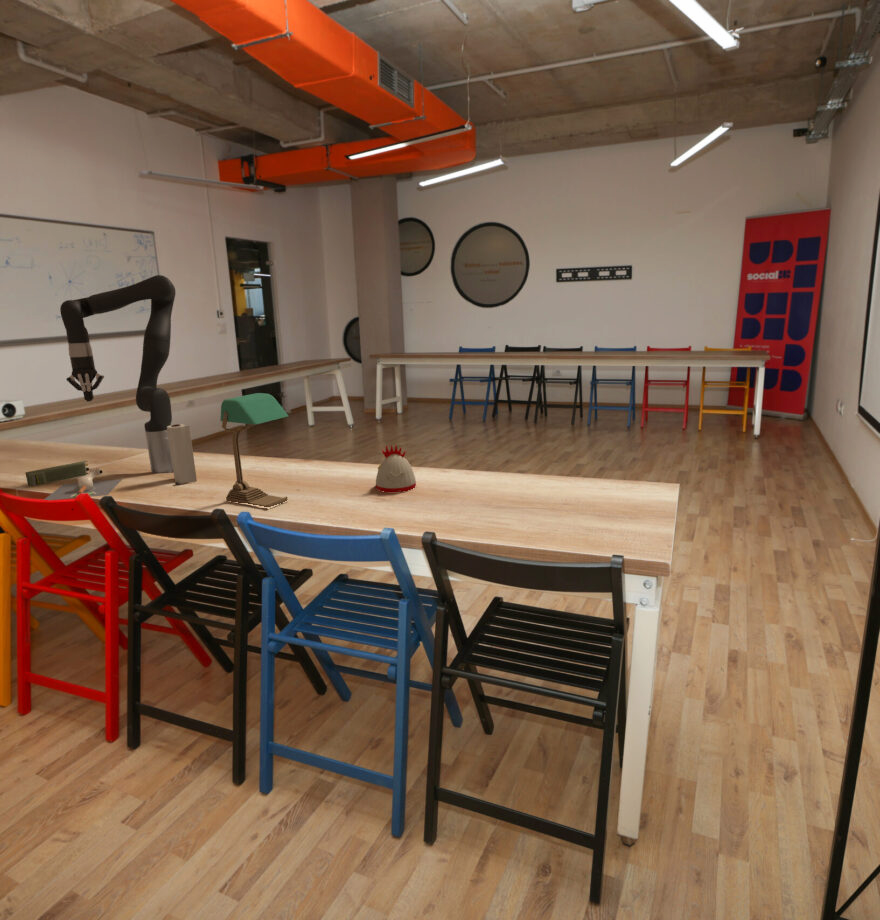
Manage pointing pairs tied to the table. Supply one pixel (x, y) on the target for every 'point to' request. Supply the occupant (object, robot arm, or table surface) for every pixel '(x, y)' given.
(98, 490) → the gauge board
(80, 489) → the lever with orange pointer
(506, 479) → the table surface
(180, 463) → the paper towel roll
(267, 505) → the banker's lamp
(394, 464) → the beige knit hat
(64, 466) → the handheld radio
